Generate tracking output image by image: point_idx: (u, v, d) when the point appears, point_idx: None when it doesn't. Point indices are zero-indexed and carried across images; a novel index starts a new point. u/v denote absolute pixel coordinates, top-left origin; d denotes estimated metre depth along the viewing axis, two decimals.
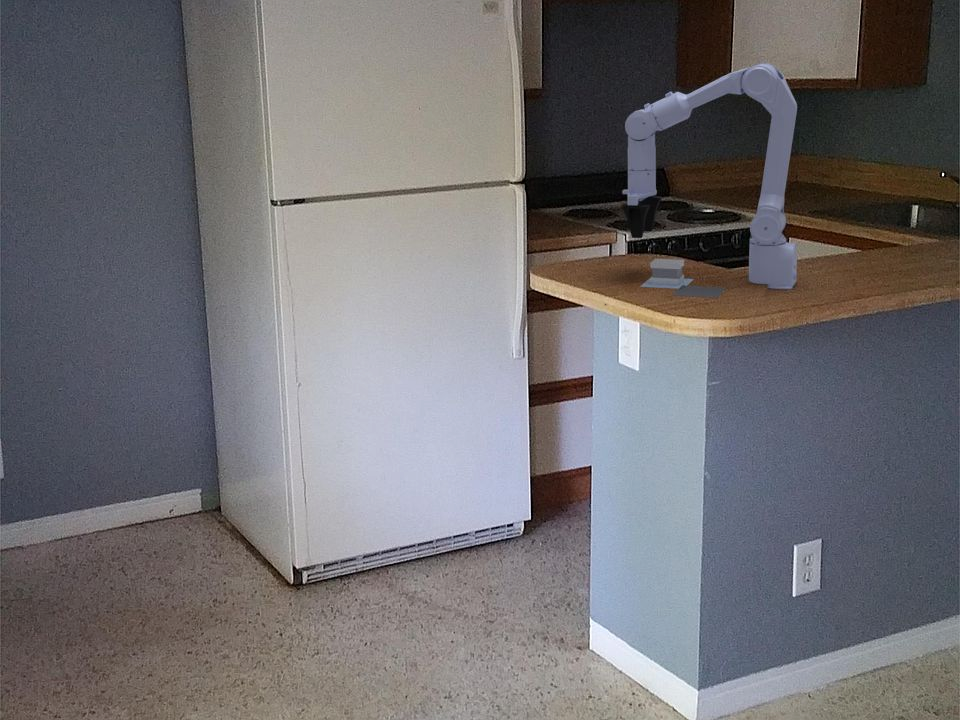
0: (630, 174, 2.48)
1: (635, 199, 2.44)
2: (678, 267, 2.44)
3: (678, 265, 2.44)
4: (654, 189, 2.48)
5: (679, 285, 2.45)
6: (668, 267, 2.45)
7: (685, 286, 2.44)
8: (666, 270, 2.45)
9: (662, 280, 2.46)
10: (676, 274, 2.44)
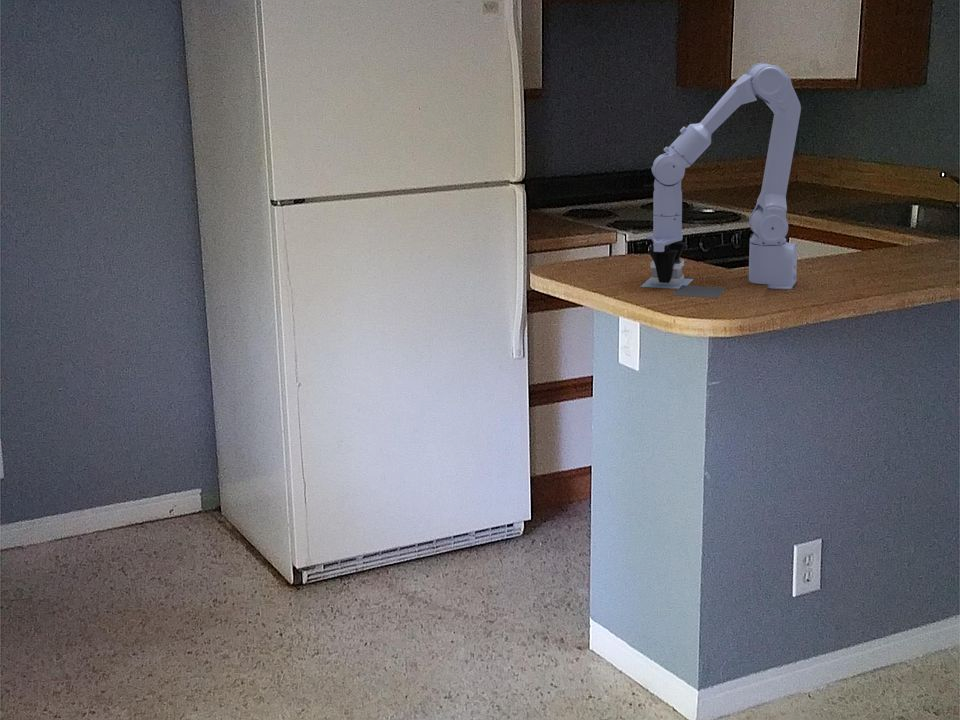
0: (656, 219, 2.43)
1: (661, 246, 2.39)
2: (678, 267, 2.44)
3: (678, 265, 2.44)
4: (680, 234, 2.43)
5: (679, 285, 2.45)
6: None
7: (685, 286, 2.44)
8: None
9: None
10: (676, 274, 2.44)
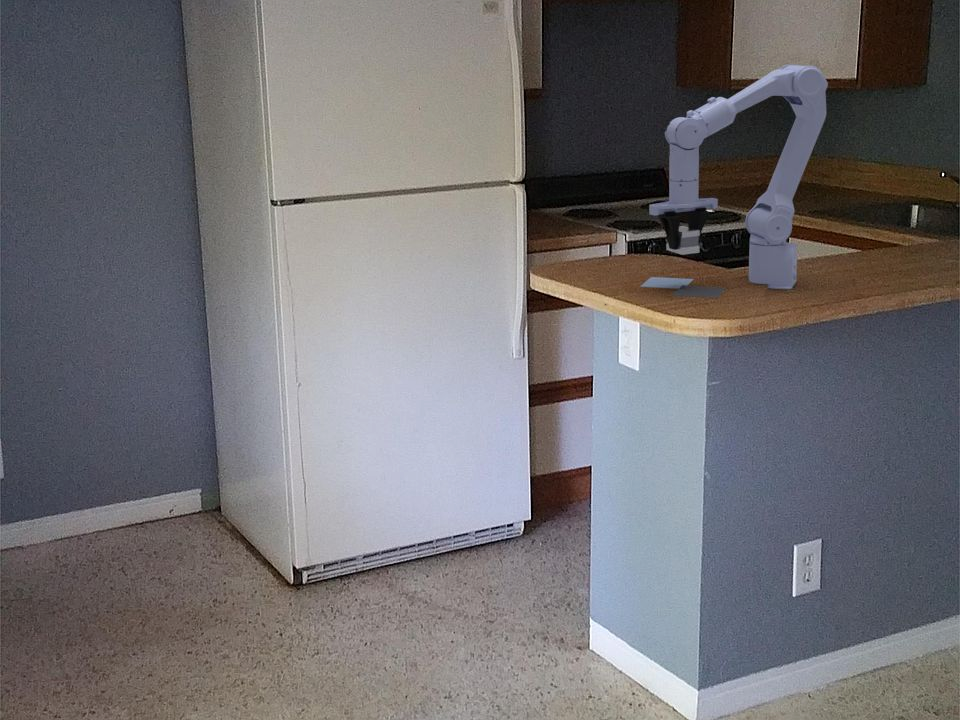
0: None
1: (653, 209, 2.36)
2: (681, 235, 2.37)
3: (681, 233, 2.37)
4: (689, 202, 2.36)
5: (679, 285, 2.45)
6: None
7: (685, 286, 2.44)
8: None
9: None
10: (680, 242, 2.38)
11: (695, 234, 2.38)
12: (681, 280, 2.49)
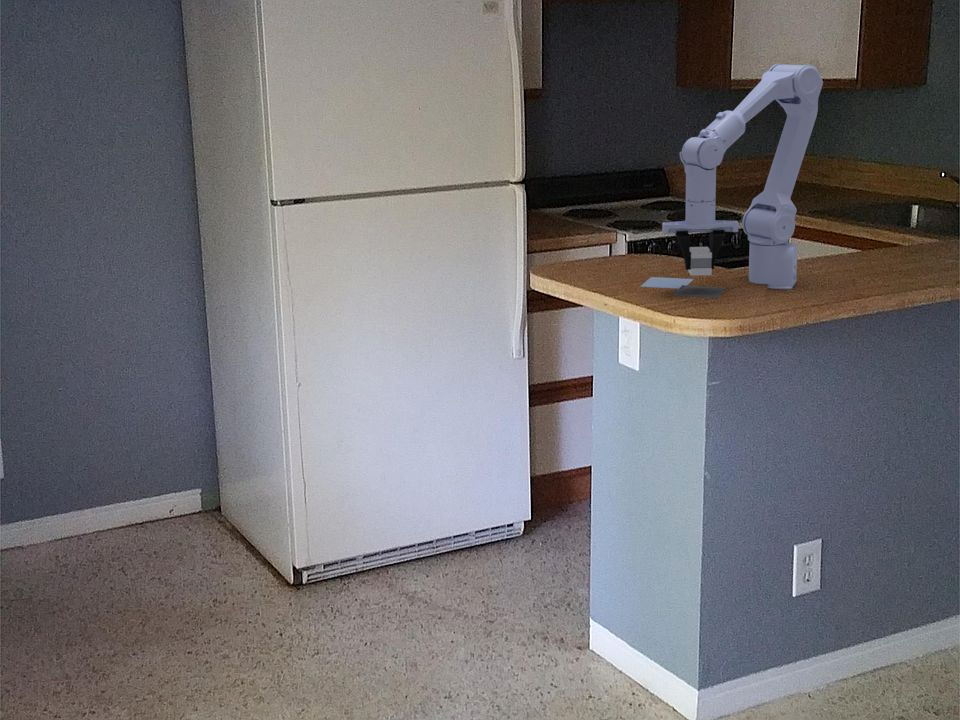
0: None
1: (663, 227, 2.35)
2: (691, 256, 2.35)
3: (691, 254, 2.35)
4: (700, 223, 2.33)
5: (679, 285, 2.45)
6: (689, 254, 2.37)
7: (685, 286, 2.44)
8: None
9: None
10: (690, 263, 2.36)
11: (706, 256, 2.35)
12: (681, 280, 2.49)
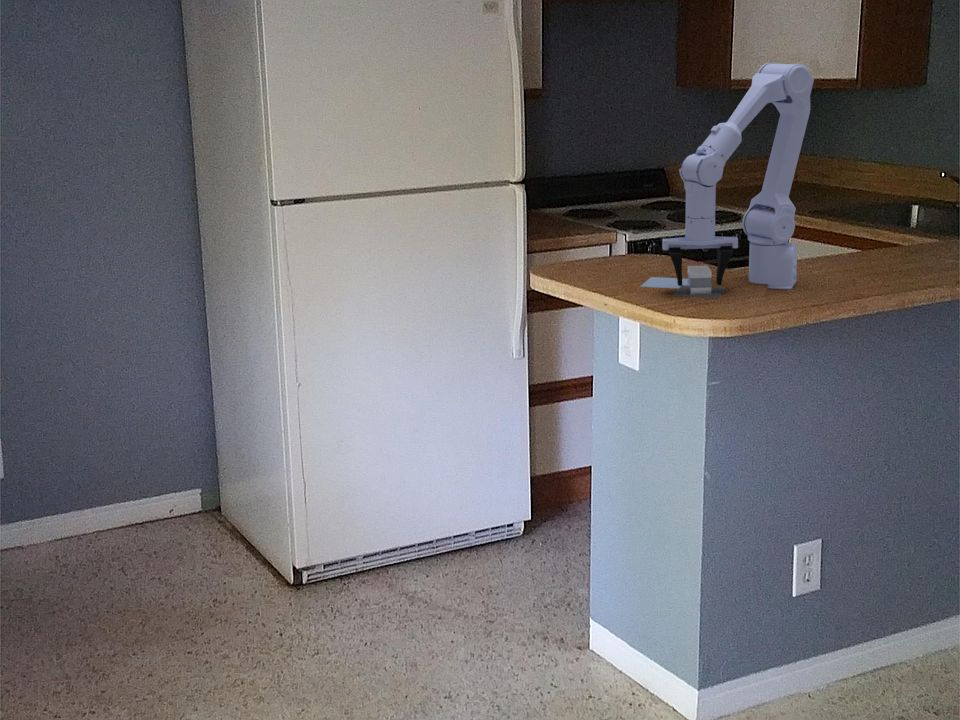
0: None
1: (663, 244, 2.36)
2: (691, 276, 2.36)
3: (691, 273, 2.36)
4: (699, 239, 2.34)
5: None
6: (689, 274, 2.38)
7: (685, 286, 2.44)
8: (689, 276, 2.38)
9: (688, 286, 2.40)
10: (690, 282, 2.37)
11: (706, 275, 2.36)
12: None
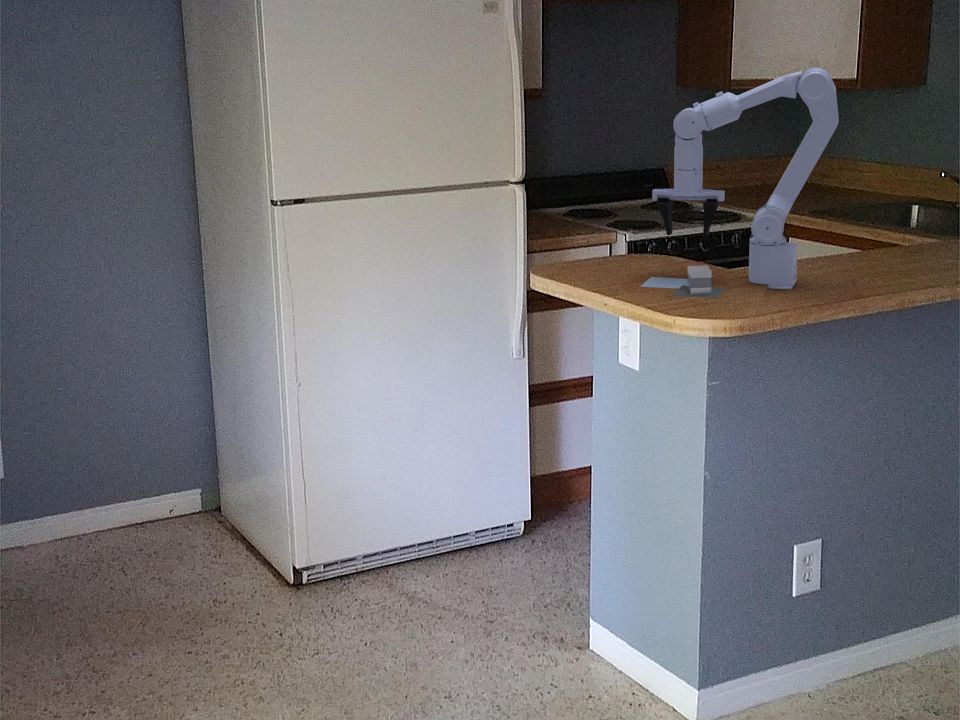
0: None
1: None
2: (691, 276, 2.36)
3: (691, 273, 2.36)
4: (683, 191, 2.43)
5: (679, 285, 2.45)
6: (689, 274, 2.38)
7: (685, 286, 2.44)
8: (689, 276, 2.38)
9: (688, 286, 2.40)
10: (690, 282, 2.37)
11: (706, 275, 2.36)
12: (681, 280, 2.49)
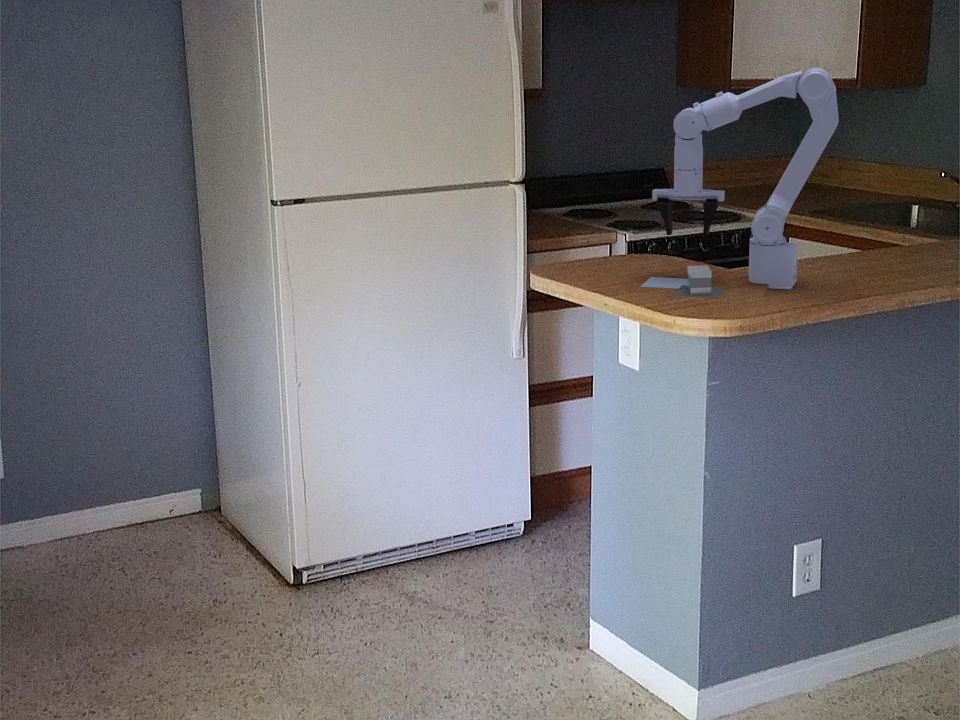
0: None
1: None
2: (691, 276, 2.36)
3: (691, 273, 2.36)
4: (683, 191, 2.43)
5: (679, 285, 2.45)
6: (689, 274, 2.38)
7: (685, 286, 2.44)
8: (689, 276, 2.38)
9: (688, 286, 2.40)
10: (690, 282, 2.37)
11: (706, 275, 2.36)
12: (681, 280, 2.49)
